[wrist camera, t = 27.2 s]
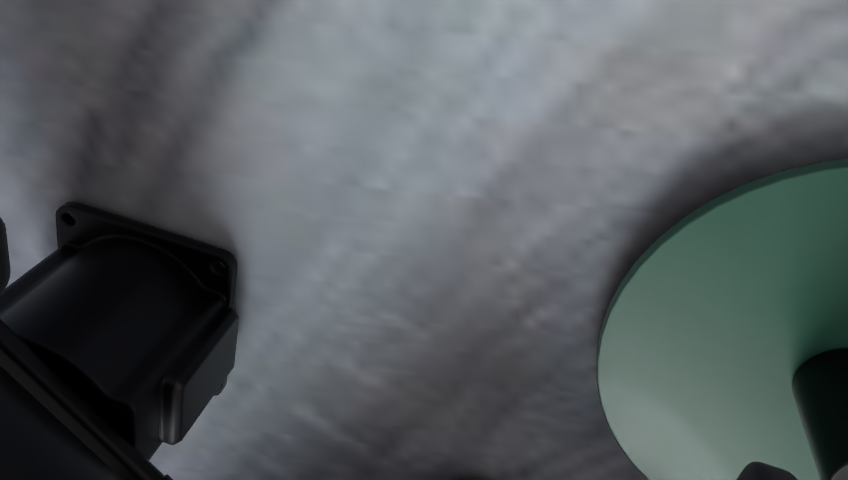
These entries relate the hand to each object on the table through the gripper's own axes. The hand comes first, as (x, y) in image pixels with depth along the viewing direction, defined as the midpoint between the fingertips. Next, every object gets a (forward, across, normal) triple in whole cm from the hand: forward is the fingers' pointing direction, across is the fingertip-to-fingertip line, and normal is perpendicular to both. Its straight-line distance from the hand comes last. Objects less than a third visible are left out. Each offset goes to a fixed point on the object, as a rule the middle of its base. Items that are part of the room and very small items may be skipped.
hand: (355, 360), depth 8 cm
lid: (+12, -12, +6) cm, 18 cm away
